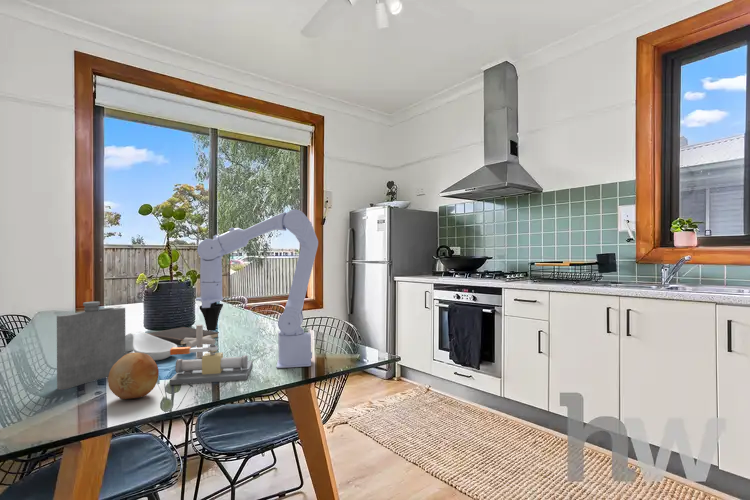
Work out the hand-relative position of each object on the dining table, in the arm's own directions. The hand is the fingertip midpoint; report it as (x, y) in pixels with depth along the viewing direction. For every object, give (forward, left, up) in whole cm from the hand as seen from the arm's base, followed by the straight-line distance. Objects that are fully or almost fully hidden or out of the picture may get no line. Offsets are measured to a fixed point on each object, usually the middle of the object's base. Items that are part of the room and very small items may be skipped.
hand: (211, 330), depth 113 cm
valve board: (-2, +7, -10) cm, 13 cm away
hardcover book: (+20, -46, -11) cm, 51 cm away
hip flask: (+28, +5, -11) cm, 30 cm away
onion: (+12, +22, -11) cm, 27 cm away
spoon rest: (+24, -18, -11) cm, 32 cm away
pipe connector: (+6, -12, -11) cm, 17 cm away
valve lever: (+2, +9, -4) cm, 10 cm away
